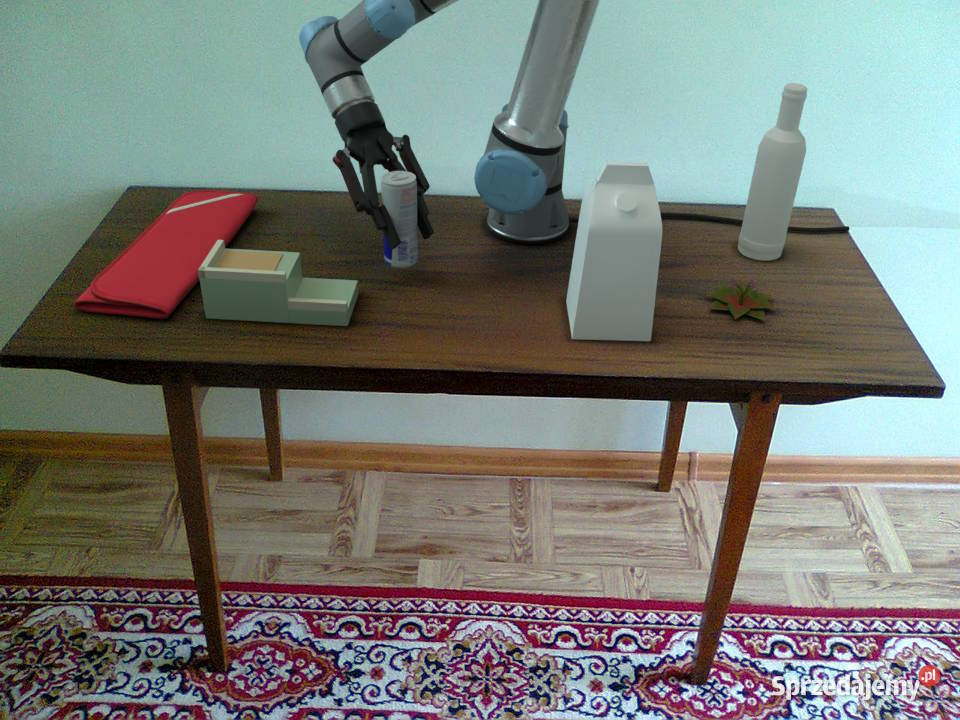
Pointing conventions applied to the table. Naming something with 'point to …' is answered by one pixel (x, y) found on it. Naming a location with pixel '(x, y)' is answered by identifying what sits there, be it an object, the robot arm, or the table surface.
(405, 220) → the beverage can
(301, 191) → the table surface
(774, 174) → the bottle
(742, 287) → the lily flower
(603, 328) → the milk
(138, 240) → the dish drying mat
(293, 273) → the green stepped stand
